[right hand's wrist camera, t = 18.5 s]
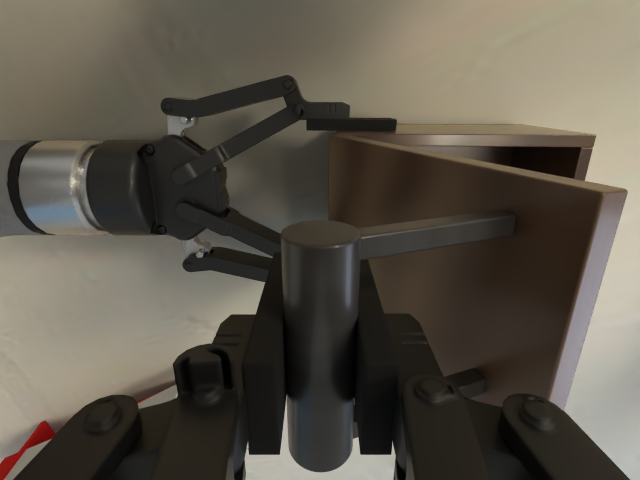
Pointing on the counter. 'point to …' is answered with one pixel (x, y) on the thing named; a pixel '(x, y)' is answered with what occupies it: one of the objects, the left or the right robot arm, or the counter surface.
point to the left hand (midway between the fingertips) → (388, 188)
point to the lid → (440, 279)
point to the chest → (496, 145)
